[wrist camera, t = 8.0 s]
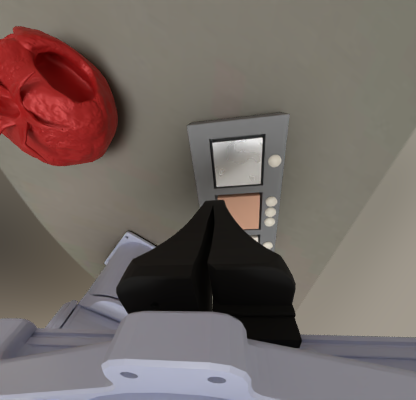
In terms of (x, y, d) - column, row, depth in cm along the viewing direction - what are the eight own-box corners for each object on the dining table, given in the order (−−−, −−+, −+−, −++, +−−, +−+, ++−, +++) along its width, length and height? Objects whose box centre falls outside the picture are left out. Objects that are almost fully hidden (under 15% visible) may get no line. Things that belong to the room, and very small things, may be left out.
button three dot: (256, 219, 22) (258, 228, 21) (220, 221, 23) (220, 230, 21) (257, 188, 20) (260, 195, 19) (217, 190, 21) (217, 198, 19)
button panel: (268, 255, 27) (272, 270, 24) (210, 257, 28) (209, 271, 25) (280, 112, 17) (290, 114, 15) (190, 122, 18) (186, 126, 16)
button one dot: (257, 177, 19) (260, 183, 18) (217, 180, 20) (216, 186, 18) (258, 134, 17) (262, 137, 16) (213, 139, 18) (212, 142, 16)
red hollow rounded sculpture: (124, 165, 21) (66, 208, 13) (36, 131, 20) (-88, 157, 12) (137, 72, 16) (57, 50, 8) (21, 17, 15) (-214, -73, 7)
